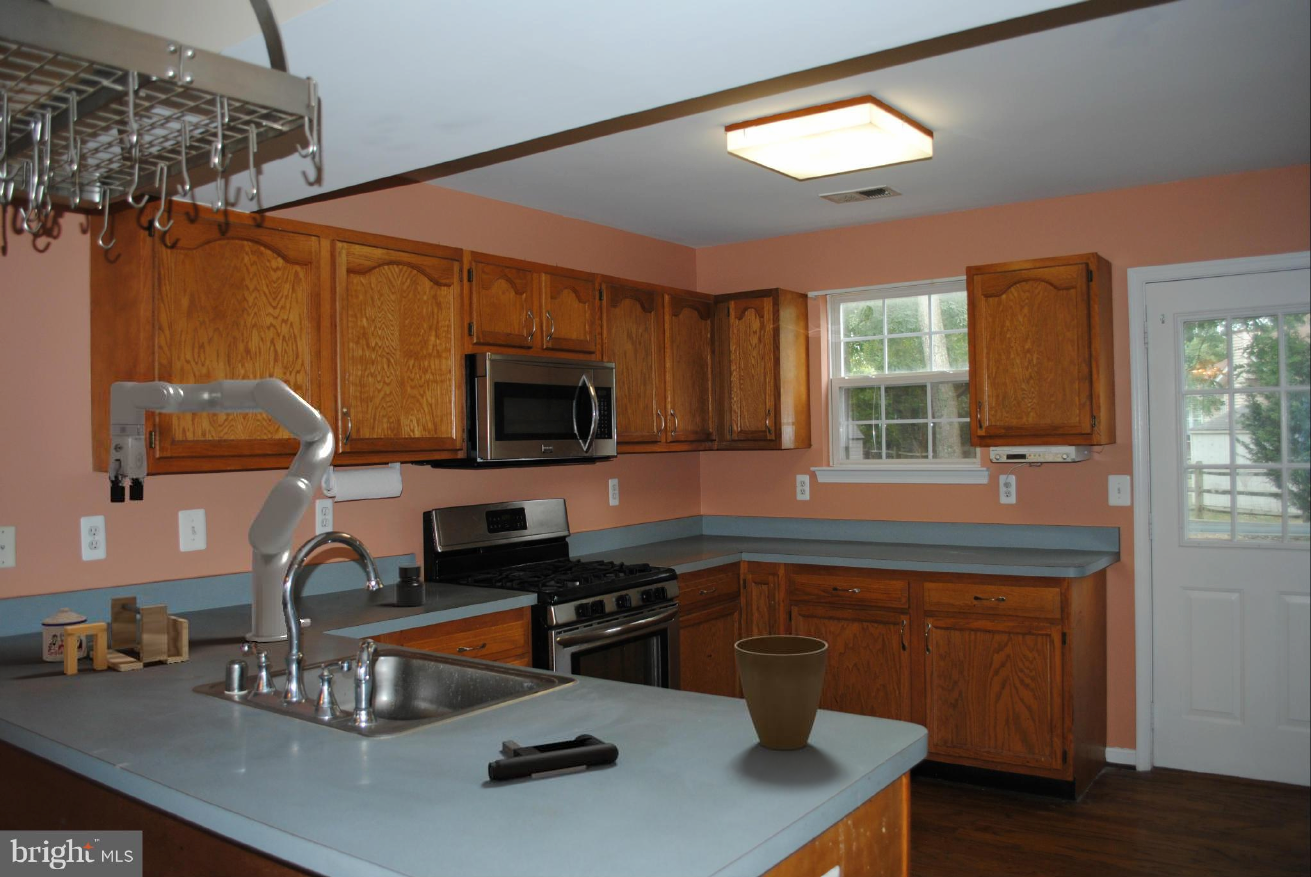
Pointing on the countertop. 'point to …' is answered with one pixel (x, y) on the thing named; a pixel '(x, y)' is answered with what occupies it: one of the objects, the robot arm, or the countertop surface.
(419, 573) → the ink bottle
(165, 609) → the wooden rack
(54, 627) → the teacup with lid
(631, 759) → the countertop surface
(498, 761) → the door handle
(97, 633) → the yellow wooden arch
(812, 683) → the plant pot
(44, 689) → the countertop surface
